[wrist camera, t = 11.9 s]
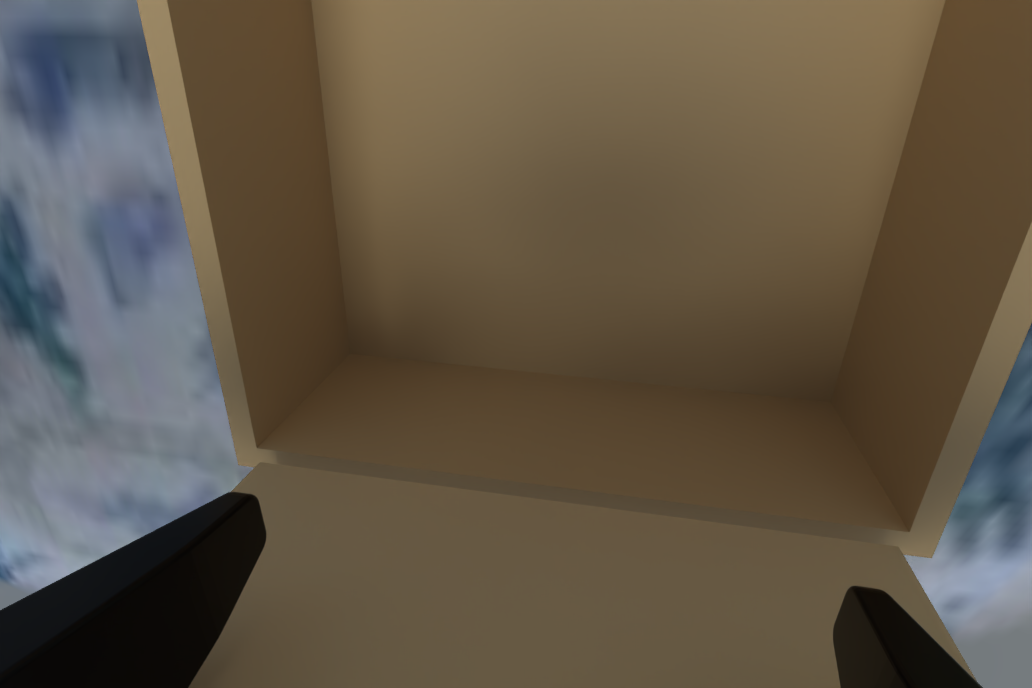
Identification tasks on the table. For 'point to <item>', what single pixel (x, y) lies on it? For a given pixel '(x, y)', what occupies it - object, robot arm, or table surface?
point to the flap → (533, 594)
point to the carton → (613, 244)
